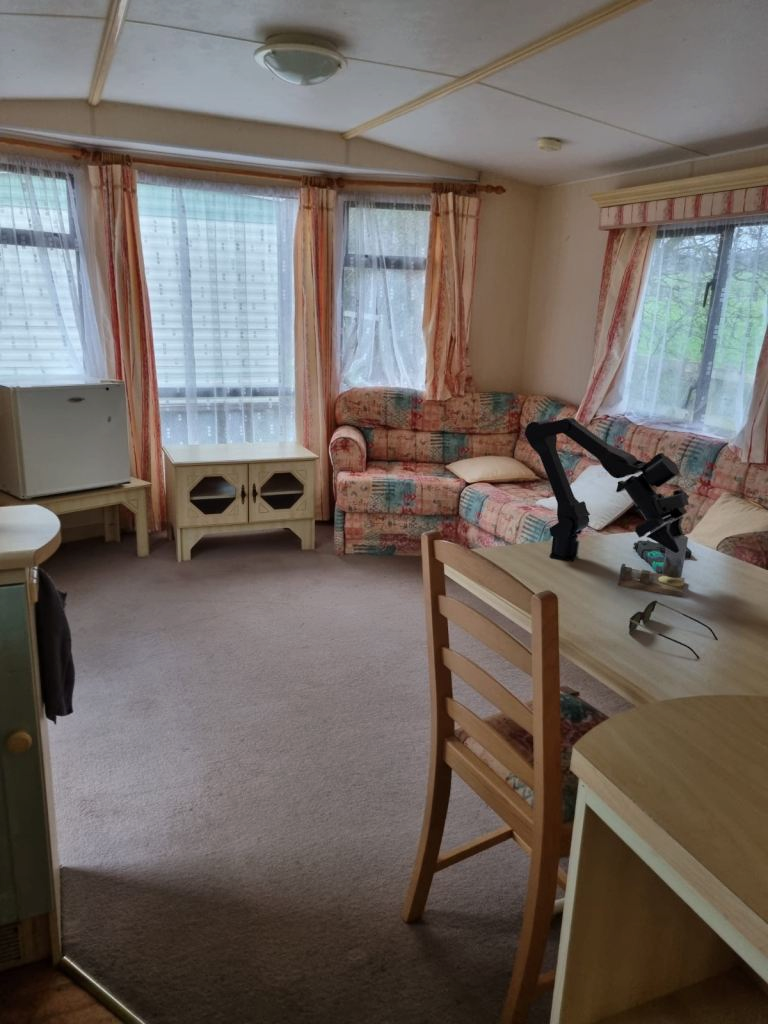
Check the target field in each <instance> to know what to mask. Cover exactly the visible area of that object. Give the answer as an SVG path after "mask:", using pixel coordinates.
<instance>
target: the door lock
mask: <svg viewBox="0 0 768 1024" xmlns="http://www.w3.org/2000/svg"><path fill="white" fill-rule="evenodd" d="M684 585H685V577H682V576H681V577H680V578H671V577H667V576H665V575H663V574H659V573H656V572H652V571H651V570H646V569H636V568H635V569H634V568H632V567H631V566H630V567H629V566H626V563H622V564H621V566H620V569H619V578H618V580H617V586H623V587H628V588H632V589H639V590H644V591H648V592H649V591H650V592H655V593H661V594H665V595H671V596H676V597H683V592H684V587H685V586H684Z"/></svg>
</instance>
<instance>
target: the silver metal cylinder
mask: <svg viewBox="0 0 768 1024" xmlns="http://www.w3.org/2000/svg"><path fill="white" fill-rule="evenodd" d="M671 535H672V537H673V539H674V541H675V542H676V544H677V546H678V548H679V552H677V553H675V552H673V551H671V550H670V549H668V548H666V551H665V557H664V563H663V569H662V574H663V575H665V576H667V577H671V578H680V577H682V575H683V569H684V564H685V559H686V558H685V553H686V548H687V547H688V540H689V537H688V536H687V535H684V534H683V535H681V534H671Z"/></svg>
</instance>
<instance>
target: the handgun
mask: <svg viewBox="0 0 768 1024" xmlns="http://www.w3.org/2000/svg"><path fill="white" fill-rule="evenodd" d="M632 548H633V550H634V551H636V553H637V555H638V556H639V557H640V558H641V559H642V560H643V559H644V560H645V562H647V563H648V564H649V565H650V566H651V567H652V569H653V570H654V571H655V573H659V574H662V569H663V563H664V557H665V551H666V547H665V546H663V545H661V544H660V543H658V542H655V541H654V542H653V541H651V540H649V539H647V540H637V542H634V543H633V547H632ZM692 554H693V552H692V550H691V549H690V548H689V547H688V546H687V548H686V553H685V559H691V558H692Z"/></svg>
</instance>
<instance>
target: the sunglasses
mask: <svg viewBox="0 0 768 1024" xmlns="http://www.w3.org/2000/svg"><path fill="white" fill-rule="evenodd" d="M657 604H658V605H659V606H662V607H665V608H667V609H669V610H671V611H674V612H676V613H678V614H680V615H682V616H684V617H685V618H689V619H690V620H692V621H695V622H697V623H698V624H700V625H702V626H703V627H705V628H706V629H707V630H709V632H710V633H711V634H712V636H713V637H714V639H715V640H717V641H718V640H719V639H718V637H717V635H716V633H714V630H712V629H711V627H709V626H708V625H707V624H705V623H703V622H701V621H700V620H698V619H695V618H694V617H691V616H690V615H687V614H685V613H683V612H681V611H679V610H677V609H674V608H673V607H671V606H668V605H666V604H663V603H662V602H659V601H657V599H655V600H652V601H651V602H650V603H648V605H646V606H645V608H644V609H643V611H641V610H640V611H637V612H635V613H634V614H633V615H632V616H631V617H630V618H629V625H628V629H629V630H628V635H631V634H632V633H633V632H635V631H636V630H637V628H638V626H639V627H642V628H644V629H645V630H648V631H650V632H651V633H654V634H656V635H657V636H660V637H663V638H664V639H667V640H670V641H672V642H674V643H676V644H679V645H681V646H683V647H685V648H687V649H688V650H690V651H691V652H692V653H693V655H695V657H696V658H697V659H700V655H698V653H696V651H695V650H694V649H693V648H692V647H690V646H689V645H687V644H685V643H683V642H681V641H678V640H676V639H674V638H672V637H669V636H667V635H664V634H661V633H659V632H658V631H656V630H654V629H650V628H648V627H646V626H644V625H643V623H644V624H645V623H646V622H648V621H649V620H650V619H651V617H652V613H653V612H654V611H655V607H656V605H657ZM647 620H648V621H647ZM641 621H642V623H641ZM635 629H636V630H635ZM631 632H632V633H631Z"/></svg>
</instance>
